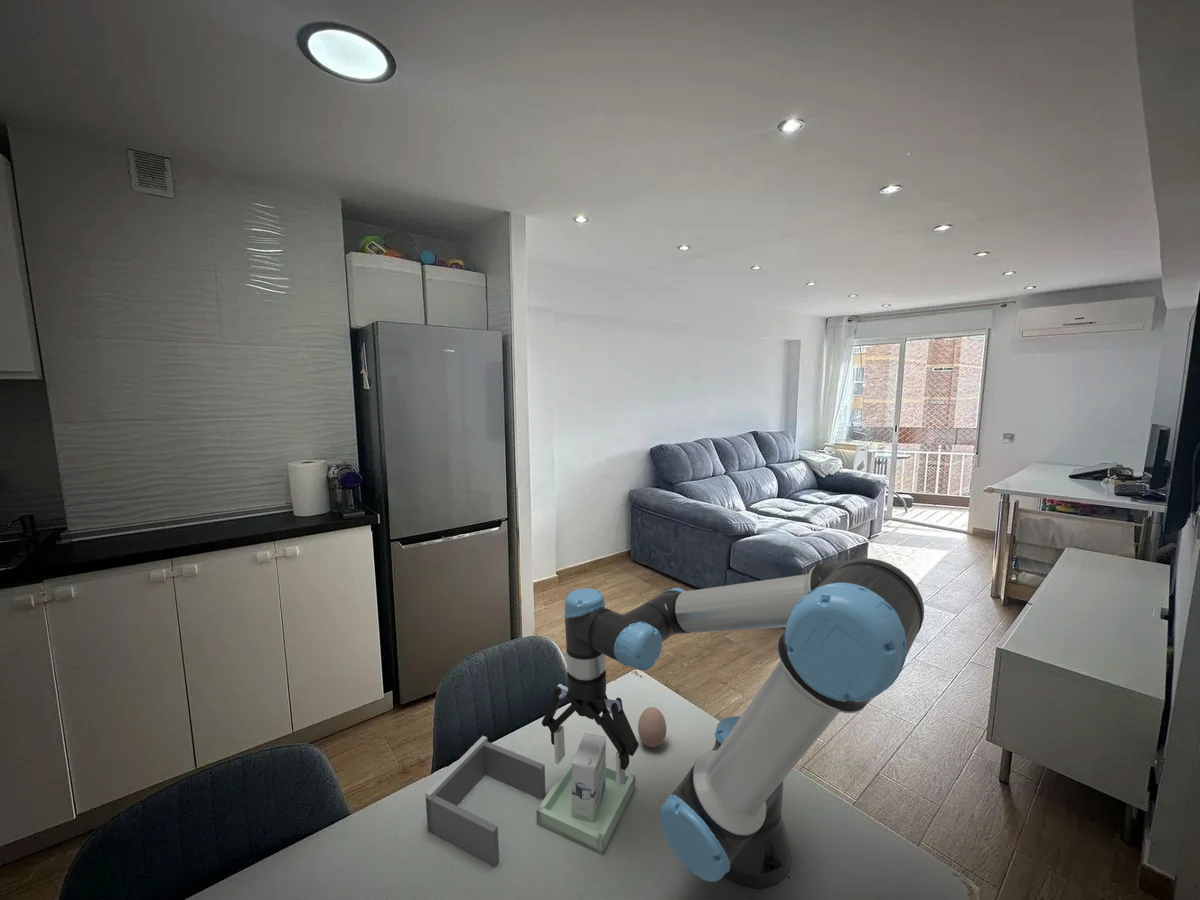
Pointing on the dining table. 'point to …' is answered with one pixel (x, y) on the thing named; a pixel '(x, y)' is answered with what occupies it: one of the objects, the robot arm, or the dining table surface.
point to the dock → (459, 782)
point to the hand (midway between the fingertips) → (589, 770)
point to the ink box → (588, 777)
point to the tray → (586, 833)
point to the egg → (652, 727)
